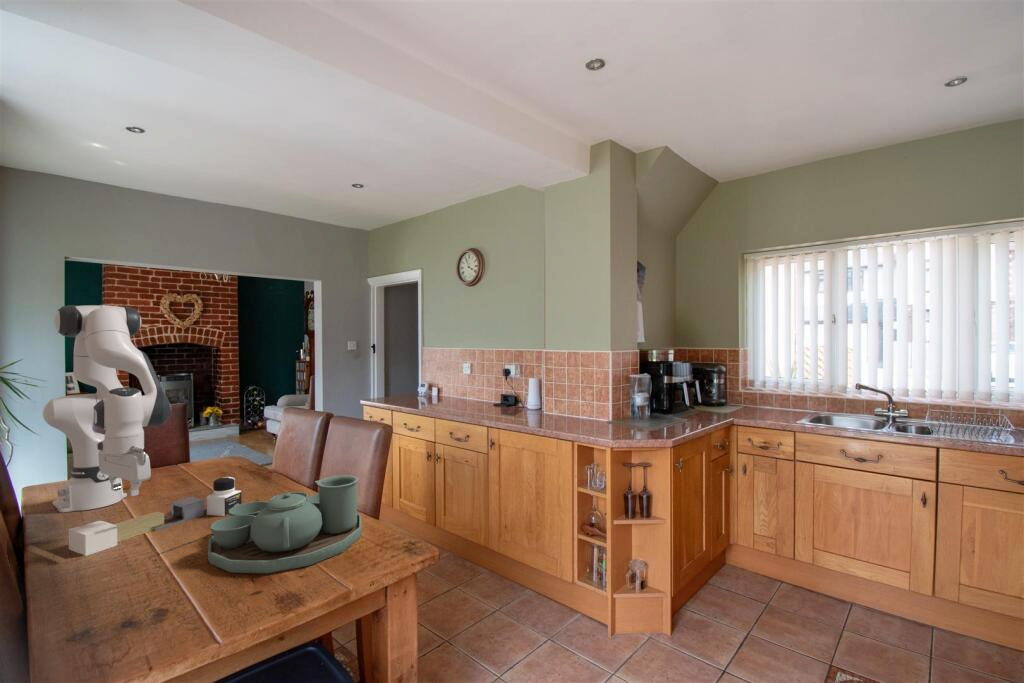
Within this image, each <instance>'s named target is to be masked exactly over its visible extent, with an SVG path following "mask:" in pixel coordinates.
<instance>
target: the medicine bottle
mask: <svg viewBox="0 0 1024 683" xmlns="http://www.w3.org/2000/svg"><path fill="white" fill-rule="evenodd" d="M212 485H213V486H212V487H213V493H211V494H209V495H207V496H206V516H216V517H217V516H220V517H227V516H230V515H229V510H230V509H231V508H232V507H234V506H237V505H240V504H242V490H237V489H236V479H235V477H231V476H225V477H224V476H223V477H218V478H217V479H215V480H213V484H212Z"/></svg>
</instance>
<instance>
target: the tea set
mask: <svg viewBox="0 0 1024 683" xmlns="http://www.w3.org/2000/svg"><path fill="white" fill-rule="evenodd" d="M359 480H360V479H359V478H358V477H357V476H356V475H355V476H354V475H347V474H345V475H342V474H341V475H333V476H328V477H325V478H324V477H323V478H322V479H320V480H315V481H314V482H313V483H315V484H316V485H317V486H318V488H319V490H318V493H317V492H316V493H314V494H313V495H312V494H311V495H310V496H309V494H308V493H306V492H304V491H303V492H302V491H291V492H290V491H289V492H284V493H280V494H277V495H273V496H272V497H271V498H269V499H268V501H263V500H259V501H258V500H257V501H249V502H244V503H241V504H240V505H237V506H234V507H232V508H231V509H230V510H229V515H228V517H227V516H225V517H224V518H221V519H218V520H215V521H214V522H213V523H211V524H210V525H209V526H210V528H209V529H210V530H211V533H212V535H213V536H211V537H210V538H208V548H207V561H208V562H209V564H210V565H213V566H215V567H216V568H219V569H222V570H224V571H225V572H229V573H231V574H232V573H235V574H272V573H277V572H282V571H283V572H284V571H288V570H294V569H298V568H304V567H308V566H311V565H315V564H317V563H320V562H321V561H325V560H327V559H329V558H332V557H334V556H336V555H339V554H342V553H344V552H345V551H346V550H347V549H348V548H349V547H351V546H352V545H353V544H354V543H355V542H357V541H358V540H359V539H360V538H361V536H362V515H361V514H359V513H358V502H357V501H358V484H357V483H358V481H359Z"/></svg>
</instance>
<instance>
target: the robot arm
mask: <svg viewBox="0 0 1024 683" xmlns="http://www.w3.org/2000/svg"><path fill="white" fill-rule="evenodd" d="M53 322H54V327H55V328H56V330H57V333H58V334H59V335H61V336H63V337H66V338H75V339H74V344H73V345H74V347H73V377H74V379H75V380H77V381H79V382H80V383H82V384H85V385H88V386H92V387H94V388H96V393H95V392H94V393H87V394H85V393H84V394H74V395H73V394H72V395H65V396H60V397H56V398H52V399H50V400H49V401H48V402H47V403H45V406H44V408H43V411H42V416H43V417H42V418H43V420H44V421H45V422H46V424H47V425H48V426H50V427H52V428H54V429H56V430H58V431H60V432H61V433H62V434H64V435H65V436H66V437H67V439H68V440H69V442H70V445H71V448H72V455H73V456H72V457H73V466H72V467H71V471H70V478H69V480H67V482H65V484H63V486H62V487H61V489H59V490H57V497H58V498H59V499H55V500H53V501H52V503H51V504H53V505H54V506H55V507H56V508H57V509H56V508H55V507H54V506H53V505H52V506H53V507H54V508H55V509H56V510H57V511H58V512H60V513H69V512H78V511H88V510H94V509H100V508H104V507H107V506H111V505H115V504H116V503H119V502H120V501H122V499H124V498H126V497H128V495H129V496H131V497H135V496H138V495H139V494H140V488H141V485H142V482H145V481H149V480H150V479H151V473H152V472H151V461H150V457H149V454H147V453H146V452H145V451H144V449H145V431H144V428H143V427H147V428H148V427H149V428H150V427H153V428H154V427H160V426H162V425H164V423H166V422H167V421H168V420H169V419H170V418H171V416H172V405H171V403H170V400H169V398H168V397H167V395H166V394H165V392H164V390H163V388H162V386H161V383H160V381H159V378H158V376H157V374H156V371H155V369H154V366H153V364H152V362H151V360H150V358H149V357H148V355H147V353H146V352H144V351H142V350H139V349H138V348H137V347H136V346H135V345H134V344H133V342H132V339H131V337H133V336H135V335H137V334H139V332H140V329H141V327H142V317H141V315H140V313H139V311H138V310H137V309H136V308H133V307H129V306H117V305H107V304H99V305H95V304H93V305H91V304H89V305H75V304H71V305H70V304H69V305H63V306H61V307H60V308H59V309H57V312H56V314H55V315H54V320H53ZM117 370H119V371H124V372H126V373H129V374H132V375H134V376H135V377H136V378H137V379H138V381H139V384H140V385H141V388H142V391H143V392H144V395H142V391H141V390H140V389H138V388H135V387H124V386H123V385H122V384H121V382H120V380H119V378H118V374H117ZM93 426H95V427H97V428H99V429H100V430H103V431H105V433H104V434H103V433H100V432H96V431H94V430H93ZM123 480H125V481H129V483H130V485H131V486H130V488H129V489H128V493H126V492H124V489H123Z"/></svg>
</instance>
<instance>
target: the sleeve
mask: <svg viewBox="0 0 1024 683" xmlns="http://www.w3.org/2000/svg"><path fill="white" fill-rule="evenodd" d="M203 516H205V499H203V498H199V497H196V496H188V497H185V498H181V499H179V500H174V501H171V515H170V516H167V517H164V525H162V526H159V527H156V528H154V530H153V532H157V531H161V530H164V529H167V528H171V527H173V526H176V525H178V524H183V523H185V522H188V521H191V520H195V519H196V518H199V517H200V518H201V517H203ZM177 518H182V519H178V520H175V521H171V520H174V519H177ZM169 521H171V522H169ZM165 522H169V523H165Z"/></svg>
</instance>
